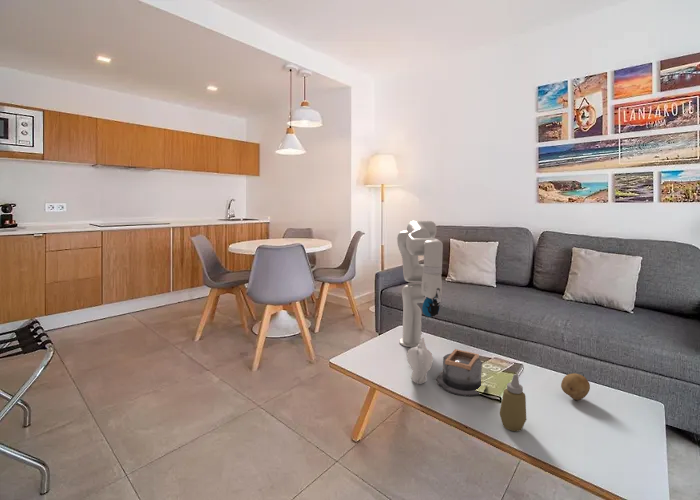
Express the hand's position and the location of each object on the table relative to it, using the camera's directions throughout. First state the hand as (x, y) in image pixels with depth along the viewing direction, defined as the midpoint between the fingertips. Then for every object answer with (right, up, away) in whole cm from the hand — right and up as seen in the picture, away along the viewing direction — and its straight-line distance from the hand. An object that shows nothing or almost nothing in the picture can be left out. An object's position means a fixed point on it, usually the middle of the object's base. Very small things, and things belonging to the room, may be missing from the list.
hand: (431, 312), depth 151 cm
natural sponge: (+51, -30, -15) cm, 61 cm away
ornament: (0, -2, 0) cm, 2 cm away
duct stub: (+11, -29, -5) cm, 31 cm away
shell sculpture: (-5, -28, -3) cm, 29 cm away
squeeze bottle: (+20, -32, -32) cm, 50 cm away
